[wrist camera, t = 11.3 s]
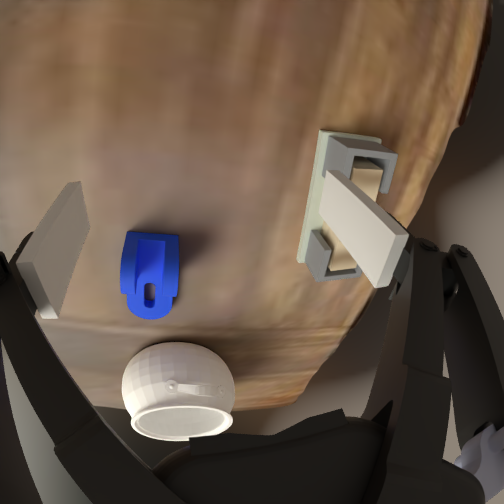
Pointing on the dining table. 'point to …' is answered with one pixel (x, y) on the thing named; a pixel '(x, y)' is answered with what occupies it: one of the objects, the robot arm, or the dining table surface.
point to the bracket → (150, 272)
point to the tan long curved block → (368, 182)
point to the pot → (178, 392)
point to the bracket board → (326, 158)
